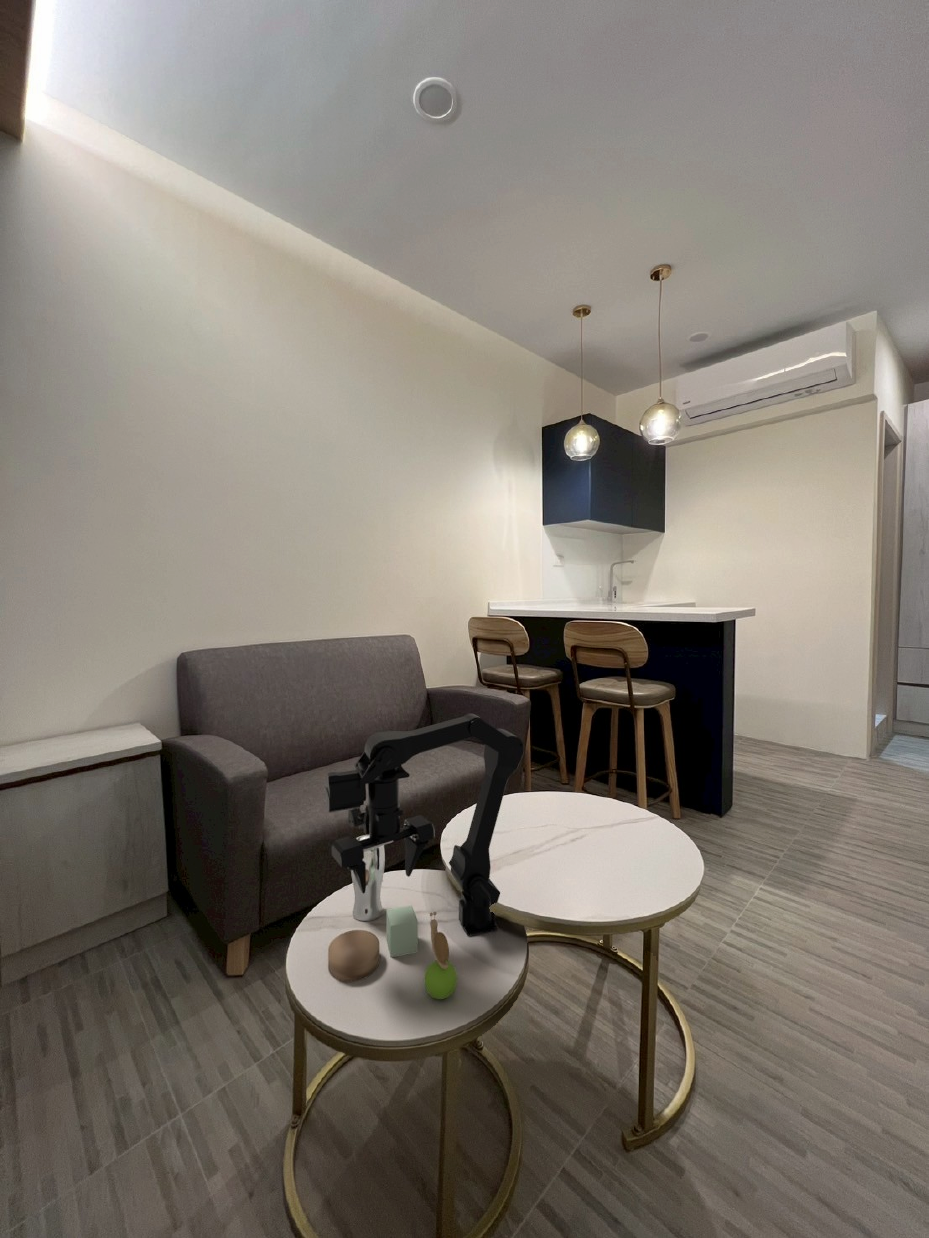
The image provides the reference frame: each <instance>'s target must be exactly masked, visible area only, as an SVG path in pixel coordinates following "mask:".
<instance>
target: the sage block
mask: <svg viewBox="0 0 929 1238" xmlns="http://www.w3.org/2000/svg"><path fill="white" fill-rule="evenodd" d="M418 929H419V928H418V919H417V914H416V913H415V909H414V906H413V905H412V904H411V905H405V906H400V907H394V908H388V909H386V930H385V931H386V932H385V933H386V937H385V938H386V939H385V941H386V944H387V948H388V952H389V953H388V954H389V956H390V958H393V957H394V958H395V957H399V956H404V955H410V954H414V953H418Z"/></svg>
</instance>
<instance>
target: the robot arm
mask: <svg viewBox="0 0 929 1238" xmlns="http://www.w3.org/2000/svg"><path fill="white" fill-rule="evenodd" d="M473 738H475V739H477V740H479V741H480V742H482V743H484V750H483V759H484V760H483V762H484V769H485V771H484V776H483V778H482V779H483V780H482V783H481V787H480V789H479V793H478V797H477V801H476V803H475V809H474V811H473V812H474V813H473V814H472V819H471V822H470V826H469V830H468V834H467V837H466V840H465V841H464V842H463V843H462V844H461V845H460V846H459V845H457V844H454V846H453V849H452V856H451V858H450V860H449V862H448V864H449V866H450V873H451V875H452V877H453V878H454V880H455V881H456V883H457V885H458V886H459V888H460V890H461V899H459V900H458V921H459V923H460V926H461V927H462V928H463V929H464V931H465V934H466V935H467V936H475V935H480V934H483V933H488V932H495V931H498V930H499V926H498V924H497V922H496V913H495V914H494V913H493V912H490V909H489V907H490V906H491V905H492V904H494V903H495V904H497V903H498V902H499V898H500V895H501V891H500V890H499V889H498V887H497V886H496V885H495V883H493V881H492V880H491V879H490V877H491V868H492V867H491V858H490V857H491V855H490V846H491V843H492V839H493V835H494V832H495V828H496V825H497V821H498V816H499V814H500V809H501V806H502V802H503V799H504V793H505V791H506V787H507V783H508V780H509V778H510V777H511V776H512V775H513V774H514V773H515V772H516V770H518V768H519V766H520V763H521V761H522V759H523V756H524V754H525V745H524V742H523V741H522V740H521V738H520V737H518V736H516V735H514V734H513V733H511V732H510V731H508V730H506V729H503V728H495V727H493V726H492V725H490V724H489V723H487V722H486V721H485V720H484V719H483V718H482V717H480V716H478V715H476V714H474V713H472V712H471V713H466V714H465V715H463V716H460V717H457V718H453V719H449V720H445V721H442V722H438V723H435V724H432V725H426V726H425V727H421V728H420V727H419V728H416V729H413V730H407V731H406V730H389V731H378V732H375V733H373V734H371V735H370V736H369V737H368V738H367V741H366V742H365V744H364V751H363V752H362V754H361V755H360V757H359V758H358V760H357V761H356V763H355V764H354V770H353V769H352V770H346V771H333V772H328V773H327V774H326V777H327V779H326V787H325V802H326V803H325V804H326V809H327V810H326V811H327V813H328V814H331V813H336V812H337V813H338V812H342V811H347V812H348V815H347V816H348V817H347V818H348V825H349V826H350V828H355V827H356V828H357V827H358V830H362V829H363V833H364V834H365V835H369V838H367V839H364V840H360V841H358V840H357V839H356V838H357V837H355V836H354V835H353V834H352V835H351V834H350V835H348V836H345V837H341V838H338V839H335V840H334V842H333V843H332V845H331V856H332V857H333V859H334V860H335V861H336V862H337V864H338V865H339V866H340V867H341V869H342V868H343V869H348V871H351V870H353V872H354V875H355V877H356V880H357V882H358V885H359V887H360V890H361V892H362V893H365V890H366V863H365V862H364V861H363V858H364V851H367V850H370V849H373V848H376V847H379V846H382V845H384V846H385V845H388V844H391V843H395V842H397V841H400V840H403V841H404V846H405V847H404V848H405V849H404V852H405V853H404V869H405V875H406V877H408V878H409V877H410V876H411V875H412V873H413V871H414V869H415V866H416V864H417V862H418V860H419V858H420V856H421V854H422V852H423V851H424V849H425V847H426V846H428V845H429V843H430V841H431V840H434V839H435V838H436V832H435V831H436V828H435V825H434V824H433V823H432V822H430V821H429V820H428V819H427V818H425V817H424V816H423V815H421V814H418V815H416V816H412V817H409V818H405V819H404V821H403V827H401V821H400V820H401V819H400V816H403V815H404V813H403V812H404V811H403V809H402V808H401V807H400V779H407V778H409V777H411V775H410V773H409V772H408V770H407V769H406V768H405V767H404V766H402V765H404V764H406V763H407V762H409V761H410V760H411V759H413V757H415V756H417V755H419V754H422V753H426V752H429V751H432V750H435V749H438V748H442V747H445V746H448V745H452V744H455V743H459V742H461V741H466V740H468V739H473ZM366 786H367V787H366ZM366 788H367V789H366ZM367 799H368V801H367V802H368V803H367V805H365V804H364V803H365V801H366V800H367ZM364 805H365V809H364V810H361V807H362V806H364Z"/></svg>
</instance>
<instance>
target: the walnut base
mask: <svg viewBox="0 0 929 1238" xmlns="http://www.w3.org/2000/svg"><path fill="white" fill-rule="evenodd" d="M327 950H328V951H327V954H328V955H327V957H328V958H327V961H328V962H327V964H328V965H327V969H328V972H329V974H330V975H331V977H333V978H334V979H336V980H337V981H341V982H348V983H349V982H357V981H360V980H363V979H364V980H365V978H367V977H369V976H371V975H372V974H373V973H374V972H376V970H377V968H378V967H379V963H380V940H379V938H378V936H377V935H376V934H374V933H373V932H371V931H368V930H364V929H352V930H348V931H345V932H343V933H341V934H339V935H338V936H336V937H335V938H334V939H332V941H331V942H330V943H329V946H328V948H327Z"/></svg>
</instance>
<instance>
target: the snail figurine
mask: <svg viewBox="0 0 929 1238" xmlns="http://www.w3.org/2000/svg"><path fill="white" fill-rule="evenodd" d="M436 915H437V912H436V911H433V912H430V913H429V916H430V917H433V916H434V919H430V923H429V925H430V939H431V946H432V952H433V955H434V957H435V960H433V961H432V962H431V963H430V964H429V965H428V966H427V968H426V970H425V973H424V977H423V978H424V979H423V981H424V986H425V989H426V991H427V993H428V994H429V995H430V996H431V998H434V999H436V1000H443V999H446V998H448V997H450V996H451V995H452V994H453V993H454V991H455V989H456V987H457V985H458V974H457V970H456V968H455V966H454V965H453V963H452V962H450V961H449V958H450V949H449V948H450V947H449V943H448V939H447V937H446V935H445V934H444V933H443V932H442V931H438V927H439V926H438V925H439V924H438V923H439V922H438V921H437V920H436Z"/></svg>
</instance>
